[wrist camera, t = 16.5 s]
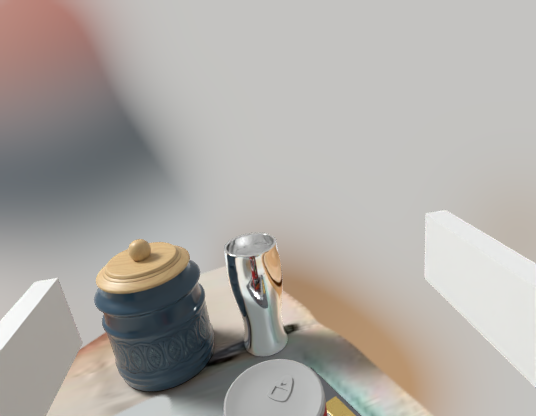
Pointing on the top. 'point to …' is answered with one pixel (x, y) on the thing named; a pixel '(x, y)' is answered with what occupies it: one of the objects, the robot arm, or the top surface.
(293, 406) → the canned food
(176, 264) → the canister
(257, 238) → the beer glass
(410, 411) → the top surface
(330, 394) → the plate
